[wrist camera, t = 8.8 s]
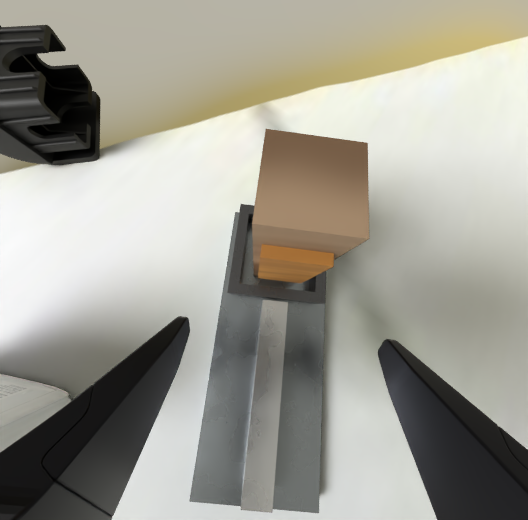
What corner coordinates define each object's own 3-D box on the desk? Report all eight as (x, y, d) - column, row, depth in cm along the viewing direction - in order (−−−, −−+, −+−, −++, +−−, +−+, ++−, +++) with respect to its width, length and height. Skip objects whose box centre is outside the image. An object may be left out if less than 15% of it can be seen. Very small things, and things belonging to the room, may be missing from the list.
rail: (314, 499, 14) (329, 548, 11) (194, 488, 14) (178, 534, 11) (323, 227, 20) (335, 213, 17) (236, 216, 19) (233, 201, 17)
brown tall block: (297, 288, 17) (369, 255, 6) (252, 282, 17) (249, 240, 6) (301, 239, 18) (367, 142, 7) (259, 234, 18) (266, 129, 7)
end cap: (35, 99, 22) (-58, 10, 15) (101, 93, 23) (38, 6, 16) (26, 173, 20) (-87, 106, 13) (99, 164, 20) (25, 96, 14)
